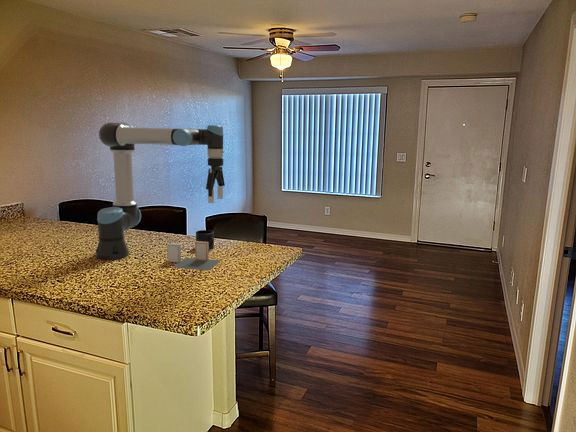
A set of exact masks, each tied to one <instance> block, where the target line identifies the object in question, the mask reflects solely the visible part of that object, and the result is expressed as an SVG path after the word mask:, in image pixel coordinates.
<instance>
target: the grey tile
mask: <svg viewBox="0 0 576 432" xmlns="http://www.w3.org/2000/svg"><path fill="white" fill-rule="evenodd" d="M181 246H182V244H180V243H171V242H170V243H167V244H166V248H167V249H166V253H167V262H170V263H171V262H172V263H179V262H181V261H182V247H181Z"/></svg>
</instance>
